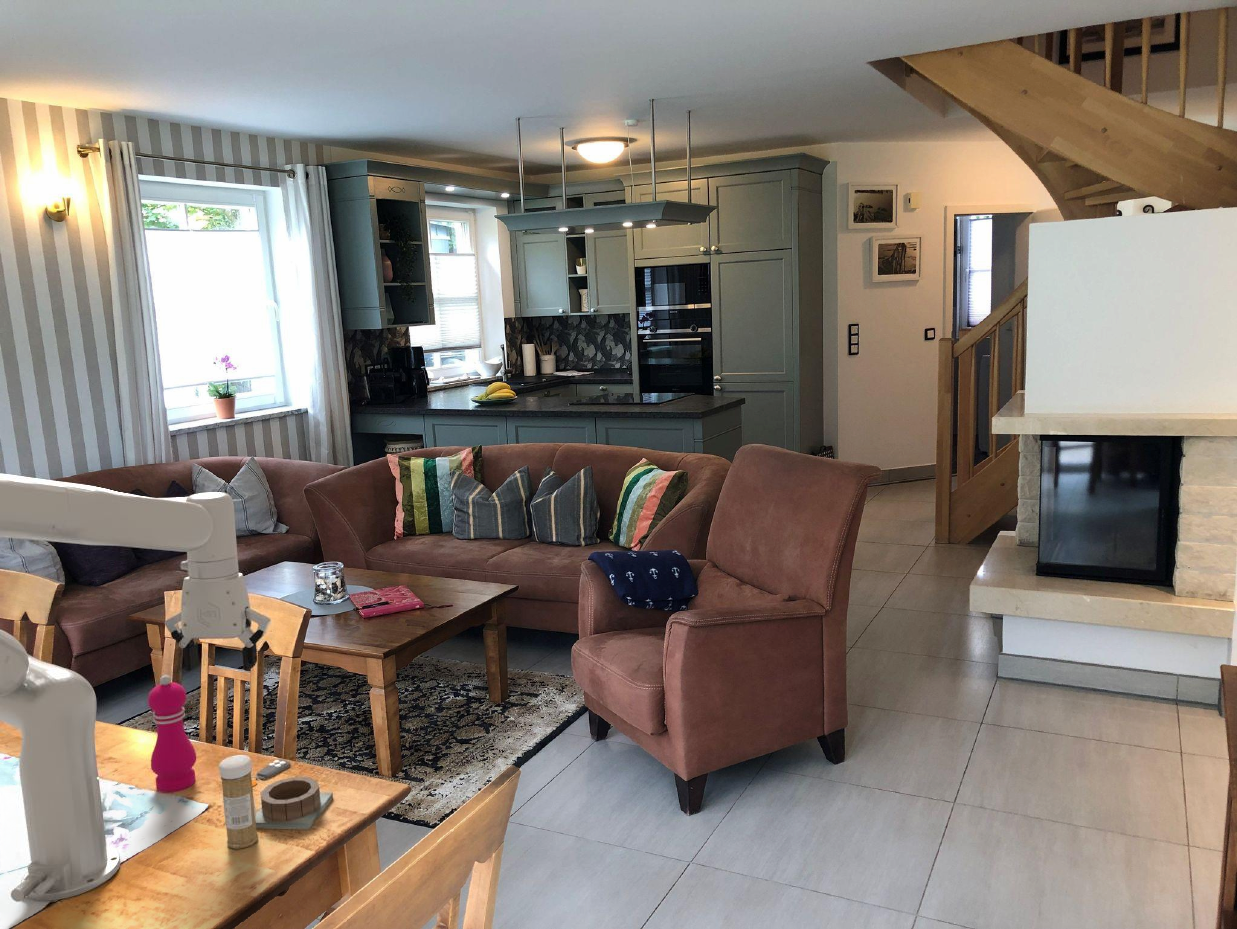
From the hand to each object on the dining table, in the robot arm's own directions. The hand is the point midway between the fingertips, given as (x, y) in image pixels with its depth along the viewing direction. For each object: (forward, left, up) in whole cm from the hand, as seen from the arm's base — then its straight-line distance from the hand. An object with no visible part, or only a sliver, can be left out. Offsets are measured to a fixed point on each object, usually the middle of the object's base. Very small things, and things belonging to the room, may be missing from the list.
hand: (221, 668), depth 158 cm
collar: (-5, -12, -23) cm, 27 cm away
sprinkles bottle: (-14, -8, -23) cm, 28 cm away
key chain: (+6, -1, -24) cm, 24 cm away
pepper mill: (+4, +13, -23) cm, 27 cm away
